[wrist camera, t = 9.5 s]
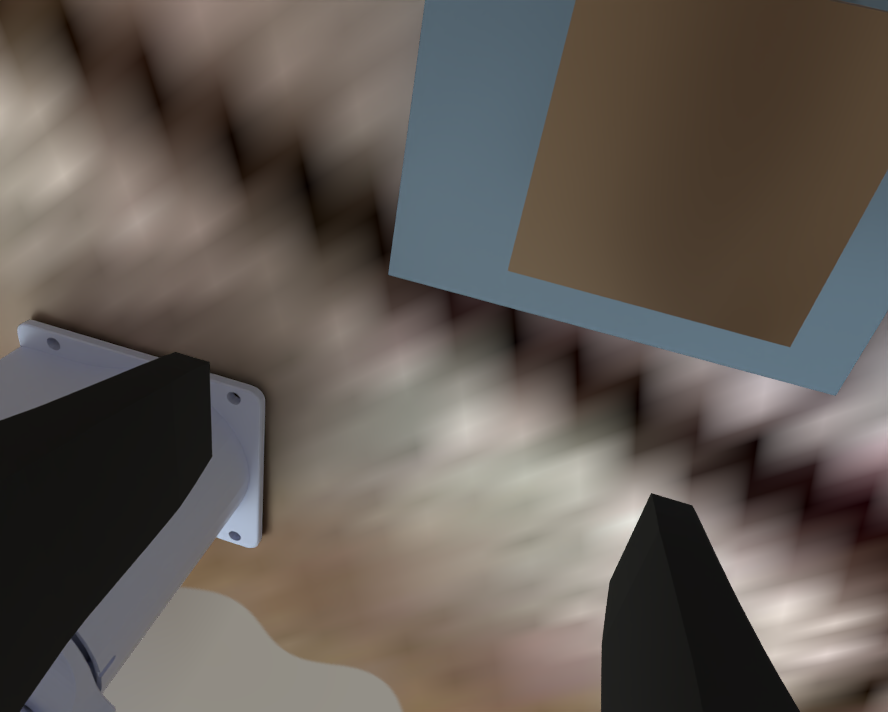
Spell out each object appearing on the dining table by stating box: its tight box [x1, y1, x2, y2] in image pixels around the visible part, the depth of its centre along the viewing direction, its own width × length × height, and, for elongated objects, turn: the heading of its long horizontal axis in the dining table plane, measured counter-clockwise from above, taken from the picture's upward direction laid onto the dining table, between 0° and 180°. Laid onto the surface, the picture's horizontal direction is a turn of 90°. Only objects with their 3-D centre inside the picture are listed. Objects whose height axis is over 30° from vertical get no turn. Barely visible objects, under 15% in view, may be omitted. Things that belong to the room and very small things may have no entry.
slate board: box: [388, 0, 888, 396], centre depth 15 cm, size 12×12×1 cm
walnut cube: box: [508, 0, 888, 347], centre depth 12 cm, size 5×5×5 cm
